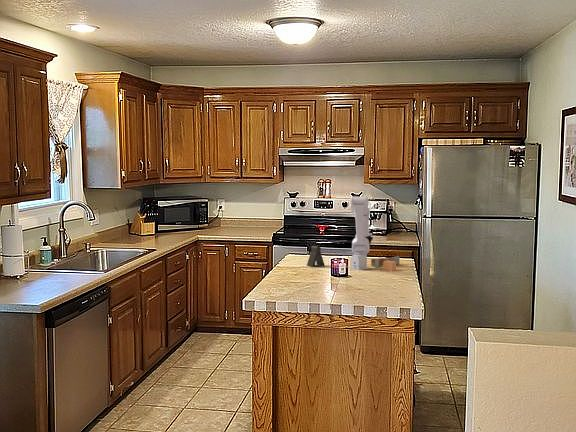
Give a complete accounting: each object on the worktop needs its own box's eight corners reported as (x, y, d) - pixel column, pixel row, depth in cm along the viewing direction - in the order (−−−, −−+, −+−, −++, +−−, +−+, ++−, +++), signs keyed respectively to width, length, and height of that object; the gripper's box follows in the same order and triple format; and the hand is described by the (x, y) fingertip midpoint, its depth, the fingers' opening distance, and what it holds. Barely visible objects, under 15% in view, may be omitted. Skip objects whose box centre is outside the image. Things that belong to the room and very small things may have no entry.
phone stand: (312, 267, 367) (312, 247, 366) (306, 266, 372) (306, 246, 372) (324, 266, 372) (324, 246, 371) (319, 264, 377) (319, 245, 376)
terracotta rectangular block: (391, 271, 356) (391, 262, 355) (383, 269, 360) (383, 261, 360) (395, 270, 358) (396, 261, 358) (387, 269, 363) (387, 260, 362)
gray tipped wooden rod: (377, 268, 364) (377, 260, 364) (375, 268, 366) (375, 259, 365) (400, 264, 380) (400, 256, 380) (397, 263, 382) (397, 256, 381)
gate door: (371, 266, 371) (371, 259, 370) (371, 265, 372) (371, 258, 371) (392, 264, 375) (392, 258, 375) (391, 264, 376) (391, 257, 376)
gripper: (362, 228, 369) (361, 250, 370) (376, 226, 380) (376, 248, 381) (352, 227, 374) (352, 249, 375) (366, 225, 384) (366, 247, 385)
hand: (363, 249), depth 378 cm, fingers open, 7 cm apart
